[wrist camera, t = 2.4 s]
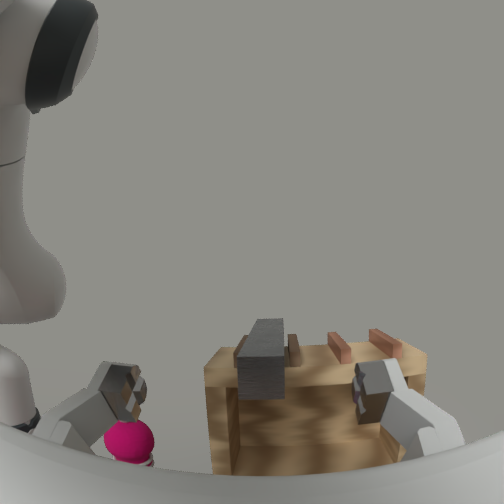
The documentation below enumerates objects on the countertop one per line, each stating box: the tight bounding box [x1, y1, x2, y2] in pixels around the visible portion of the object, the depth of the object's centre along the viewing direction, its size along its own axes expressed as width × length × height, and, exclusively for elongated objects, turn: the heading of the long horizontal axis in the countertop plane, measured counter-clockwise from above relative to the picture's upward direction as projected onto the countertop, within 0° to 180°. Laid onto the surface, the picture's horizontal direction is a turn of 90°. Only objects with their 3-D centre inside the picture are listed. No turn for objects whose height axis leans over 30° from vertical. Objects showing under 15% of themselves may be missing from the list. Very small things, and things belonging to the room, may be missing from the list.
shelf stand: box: [204, 329, 427, 476], centre depth 32 cm, size 22×9×28 cm, turn 85°
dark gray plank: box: [237, 318, 285, 400], centre depth 30 cm, size 19×3×3 cm, turn 175°
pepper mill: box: [104, 420, 154, 467], centre depth 30 cm, size 7×7×20 cm
